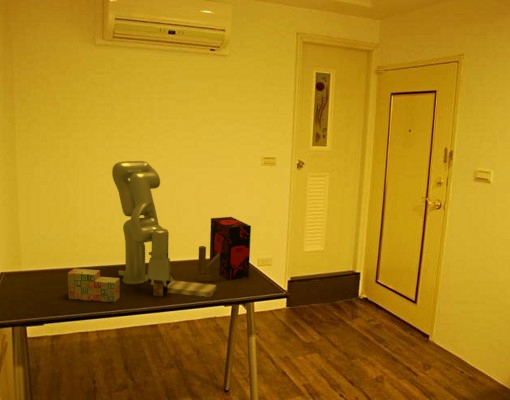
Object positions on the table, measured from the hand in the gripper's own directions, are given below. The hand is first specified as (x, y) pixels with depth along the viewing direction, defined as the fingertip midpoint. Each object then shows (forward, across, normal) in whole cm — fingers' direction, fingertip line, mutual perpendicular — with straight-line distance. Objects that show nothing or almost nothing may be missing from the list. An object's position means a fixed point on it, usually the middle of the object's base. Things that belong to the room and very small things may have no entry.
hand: (159, 292), depth 207 cm
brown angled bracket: (+1, +17, +24) cm, 29 cm away
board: (+1, +10, +8) cm, 13 cm away
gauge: (+1, 0, +5) cm, 5 cm away
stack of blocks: (+1, -26, -12) cm, 29 cm away
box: (+1, +24, +39) cm, 46 cm away
